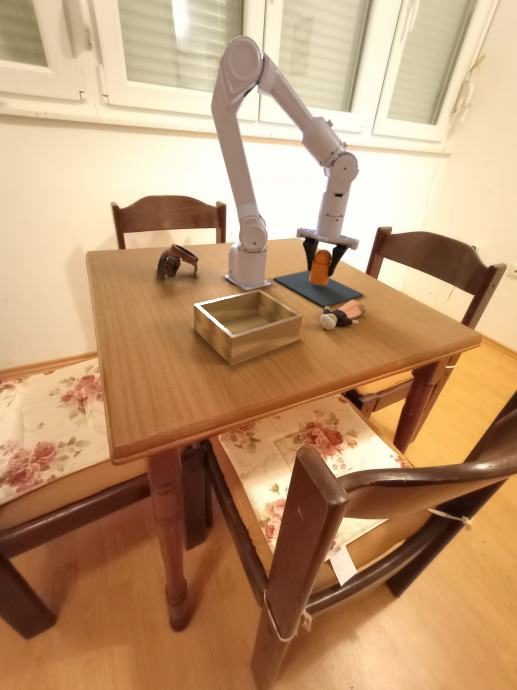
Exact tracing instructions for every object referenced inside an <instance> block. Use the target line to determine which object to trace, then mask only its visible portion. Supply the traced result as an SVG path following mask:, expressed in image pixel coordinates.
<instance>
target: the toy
mask: <svg viewBox="0 0 517 690" xmlns="http://www.w3.org/2000/svg"><path fill="white" fill-rule="evenodd" d="M331 259H332V252H330V251H329V250H328V249H319V250H318V251H316V254H315V259H314V260H313V261H312V266H311V272H310V277H309V281H310V282H311V283H313V284H316V285H326V284H328V281H329V278H330V276H328V272H329V269H330V265H331Z"/></svg>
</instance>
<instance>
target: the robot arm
mask: <svg viewBox="0 0 517 690" xmlns="http://www.w3.org/2000/svg"><path fill="white" fill-rule="evenodd" d="M256 87H257V89H256V90H257V91H256V93H257V94H259V95H263V96H266V97H270V98H272V100H273V101H274V102H275V103H276V105H278V107H279V108H280V109H281V110H282V111H283V113H285V115H286V116H287V117H288V118H289V119H290V120H291V122H292V123H293V124H294V125H295V126H296V127H297V128H298V130H299V132H300V140H299V141H300V144H301V146H303V147H304V149H305V150H306V151H307V152H308V153H309V155H310V156H311V157H312V158H313V160H314V161H315V162H316V163H317V165H318V166H319V167H320V168H323V173H324V176H325V180H324V185H323V189H322V192H321V199H320V205H319V210H318V214H317V221H316V227H315V229H314V228H313V229H312V228H305V227H298V228H297V229H296V234H295V238H296V239H297V238H298V239H304V240H303V241H302V248H303V250H304V252H305V257H306V266H307V268H306V269H307V270H306V271H311V266H312V261H313V260H314V259H315V255H316V253H317V249H318V246H319V243H324V244H328V245H334V247H333V248H332V251H331V256H332V259H331V265H330V269H329V272H328V276H329V278H330V277H332V276H333V275H334V273H335V270H336V268H337V266H338V264H339V262H340V261H341V259H342V257H343V256H344V255H345V253H346V252H347V251H348V249H350V250H352V251H357V250H358V247H359V244H360V239H357V238H353V237H350V236H347V235H343V234H342V228H343V224H344V220H345V216H346V211H347V208H348V202H349V198H350V192H351V187H352V183H353V182H354V181H355V180H356V179H357V177H358V175H359V172H360V169H359V164H358V163H359V162H358V161H359V160H358V159H357V157H356V155H355V154H354V153H352V152H349V151H347V150H346V149H347V148H348V143H347V142H346V141H343V140H341V138H340V137H339V136H338V135H337V133H336V132H335V130H334V129H333V128H332V127H333V126H334V123H333V121H332V120H331V119H326V118H324V117H323V116H313V114H312V113H311V112H310V110H309V109H308V107H307V106H306V104H305V103H304V102H303V100H302V99H301V97H300V96H299V95H298V93H297V91H296V90H295V89H294V88H293V86H292V85H291V83H290V82H289V80H288V79H287V77H286V76H285V75H284V74H283V72H282V71H281V69H280V68H279V67H278V66H277V64H276V63H275V62H274V61H273V60H272V58H271V57H270V56H269V55H268V53H266V52H265V51H261V49H260V46H259V45H258V43H257V42H256V41H255V40H254V39H253V38H251V37H250V36H248V35H238V36H235V37H234V38H232V39H231V41H229V42H228V44H227V46H226V48H225V50H224V52H223V53H222V54H221V56H220V58H219V61H218V67H217V74H216V78H215V82H214V87H213V92H212V97H211V101H210V112H211V116H212V121H213V124H214V128H215V131H216V135H217V139H218V143H219V146H220V150H221V154H222V158H223V162H224V165H225V170H226V173H227V177H228V181H229V184H230V189H231V193H232V197H233V200H234V205H235V208H236V214H237V219H238V223H239V231H238V241H237V242H235V243H234V244H232V245H231V247H230V249H229V252H228V266H227V267H228V269H227V275H225V276H224V278H225V279H226V280H228V281H229V282H231V283H233V284H234V285H237V286H238V287H240V288H241V289H243V290H244V291H251V290H255V289H260V288H263V287H267V286H270V285H272V282H269V281H268V280H266V279H265V277H266V276H265V275H266V265H267V256H268V255H267V254H268V245H267V242H268V238H269V235H268V230H267V224H266V223H267V222H266V221H265V219H264V217H263V216H262V214H260V211H259V207H258V206H259V205H258V203H257V198H256V194H255V190H254V185H253V181H252V177H251V173H250V168H249V163H248V158H247V154H246V149H245V146H244V142H243V137H242V136H243V135H242V132H241V129H240V124H239V120H238V113H239V111H240V109H241V107H242V105H243V102H244V101H245V98H246V97H247V96H248V95H249V94H250V93H251V92H252V91H253V90H254V88H256Z"/></svg>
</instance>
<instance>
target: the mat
mask: <svg viewBox="0 0 517 690" xmlns="http://www.w3.org/2000/svg"><path fill="white" fill-rule="evenodd" d="M310 272H311V271H308V270H304V271H300V272H295V273H291V274H285V275H281V276H277V277H273V281H275V282H276V283H279V284H280V285H282V286H284V287H286V288H287V289H288V290H291V291H293V292H295V293H296V294H298V295H300V296H302V297H303V298H305V299H307V300H309V301H311V302H312V303H314V304H315V305H317V306H319V307H321V308H323V309H325V307H326V306H328V307H329V308H330V307H332V306H335V305H340V304H342V303H344V302H349V301H350V300H355V299H357V298H361V297H363V295H364V294H363V293H361V292H359V291H357V290H356V289H354V288H351V287H349V286H347V285H345V284H342V283H341V282H338V281H336V280H334V279H331V278H330V277H329V281H328V284H326V285H316V284H313V283H311V282H310V281H309V277H310Z"/></svg>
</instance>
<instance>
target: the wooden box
mask: <svg viewBox="0 0 517 690" xmlns="http://www.w3.org/2000/svg"><path fill="white" fill-rule="evenodd" d="M303 318H304V317H303V315H302V314H300V313H299V312H297V311H295V310H294V309H292V308H290V307H289V306H287V305H286V304H284V303H282V302H281V301H279V300H277V299H276V298H274V297H273V296H272V295H270V294H268V293H266V292H265V291H263V290H262V289H261V288H257V289H252V290H248V291H245V292H241V293H237V294H233V295H228V296H224V297H220V298H215V299H211V300H206V301H203V302H198V303H194V304H193V329H194V331H196V332H197V333H198V334H199V336H201V337H202V339H204V340H205V341H206V342H207V343H208V344H209V345H210V346H211V347H212V348H213V349H214V350H215V351H216V352H217V353H218V354H219V355H220V356H221V357H222V358H223V359H224V360H225V361H226V362H227V363H228V364H229V365H231V366H233V365H236V364H238V363H242V362H243V361H247V360H249V359H252V358H255V357H257V356H259V355H262V354H265V353H268V352H271V351H273V350H276V349H278V348H281V347H284V346H286V345H289V344H291V343H292V344H293V343H295V342H297V341H299V340H300V339H299V338H300V332H301V327H302V322H303Z"/></svg>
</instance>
